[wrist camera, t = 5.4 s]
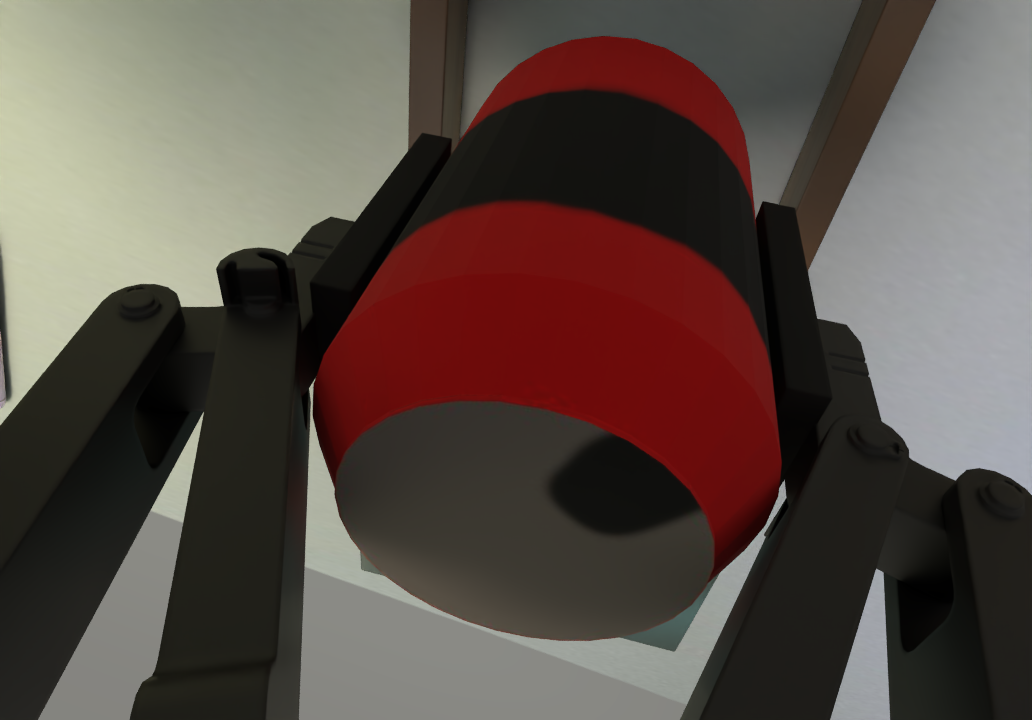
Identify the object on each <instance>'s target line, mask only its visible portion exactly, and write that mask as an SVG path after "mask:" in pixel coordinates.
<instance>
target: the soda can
mask: <svg viewBox="0 0 1032 720" xmlns="http://www.w3.org/2000/svg"><path fill="white" fill-rule="evenodd" d="M313 419H314V423H315V428H316V432H317V436H318V440H319V445H320V448H321V450H322V453H323V456H324V459H325V462H326V465H327V468H328V471H329V473H330V476H331V479H332V482H333V485H334V488H335V499H336V503H337V507H338V512H339V516H340V518H341V520H342V522H343V524H344V526H345V528H346V530H347V532H348V534H349V536H350V538H351V539H352V541H353V542H354V543H355V544H356V546H357V547H358V548H359V549H360V551H361V552H362V553H363V555H364V556H365V557H366V558H367V559H368V560H369V561H370V562H371V563H372V564H373V565H374V566H375V567H376V568H377V569H378V570H380V571H381V572H382V573H383V574H384V575H385V576H386V577H387V578H388V579H390V580H391V581H393V582H394V583H396V584H397V585H398V586H400V587H401V588H403V589H404V590H405V591H407V592H408V593H410V594H411V595H413V596H415V597H417V598H418V599H420V600H422V601H424V602H426V603H428V604H429V605H431V606H433V607H435V608H437V609H439V610H441V611H443V612H446V613H448V614H451V615H453V616H455V617H458V618H460V619H462V620H465V621H467V622H471V623H474V624H477V625H480V626H484V627H487V628H490V629H493V630H496V631H501V632H506V633H510V634H515V635H520V636H525V637H531V638H540V639H550V640H559V641H591V640H600V639H609V638H618V637H623V636H627V635H631V634H635V633H639V632H643V631H646V630H649V629H651V628H653V627H656V626H658V625H660V624H663V623H665V622H667V621H669V620H671V619H673V618H674V617H676V616H677V615H678V614H680V613H681V612H683V611H684V610H685V609H687V608H688V607H690V606H691V605H692V604H693V603H694V601H695V600H696V599H697V598H698V597H699V595H700V594H701V593H702V592H703V590H704V589H705V588H706V586H707V584H708V583H709V582H710V581H711V580H712V579H713V578H714V577H715V576H717V575H718V574H719V573H720V572H721V571H722V570H723V569H724V568H725V567H726V566H728V565H729V564H730V563H731V562H732V561H733V560H734V559H735V558H736V557H737V556H739V555H740V554H741V553H742V552H743V551H744V550H745V549H746V548H747V547H748V545H749V544H750V543H751V542H752V541H753V539H754V538H755V537H756V536H757V535H758V533H759V532H760V531H761V530H762V529H763V527H764V526H765V525H766V523H767V520H768V518H769V516H770V514H771V511H772V509H773V507H774V505H775V502H776V500H777V498H778V494H779V484H780V475H781V465H782V461H781V452H780V442H779V433H778V424H777V414H776V405H775V396H774V387H773V377H772V368H771V359H770V349H769V340H768V331H767V321H766V312H765V303H764V294H763V284H762V275H761V266H760V256H759V247H758V238H757V229H756V219H755V210H754V201H753V191H752V182H751V173H750V163H749V157H748V151H747V146H746V140H745V135H744V132H743V130H742V127H741V125H740V123H739V120H738V118H737V116H736V113H735V111H734V109H733V107H732V105H731V104H730V103H729V101H728V100H727V99H726V97H725V96H724V94H723V93H722V92H721V90H720V89H719V87H718V86H717V85H716V83H714V82H713V81H712V80H711V79H710V78H709V77H708V76H707V75H705V74H704V73H703V72H702V71H701V70H700V69H699V68H698V67H696V66H695V65H694V64H693V63H691V62H690V61H688V60H686V59H684V58H682V57H681V56H679V55H677V54H675V53H674V52H672V51H670V50H668V49H666V48H664V47H660V46H657V45H654V44H651V43H648V42H644V41H641V40H638V39H632V38H621V37H610V36H599V37H591V38H582V39H574V40H570V41H567V42H564V43H561V44H558V45H555V46H552V47H549V48H546V49H544V50H542V51H540V52H539V53H537V54H535V55H534V56H532V57H530V58H529V59H527V60H525V61H524V62H522V63H520V64H519V65H517V66H516V67H515V68H514V69H513V70H512V71H511V72H510V73H509V74H508V75H507V76H506V77H504V78H503V79H502V80H501V81H500V82H499V83H498V84H497V86H496V87H495V88H494V90H493V91H492V93H491V94H490V96H489V97H488V98H487V100H486V101H485V103H484V104H483V106H482V107H481V109H480V110H479V112H478V113H477V115H476V116H475V118H474V120H473V121H472V123H471V124H470V126H469V127H468V129H467V131H466V132H465V134H464V135H463V137H462V138H461V140H460V142H459V143H458V145H457V146H456V148H455V149H454V151H453V153H452V154H451V156H450V157H449V159H448V160H447V162H446V164H445V165H444V167H443V168H442V170H441V171H440V173H439V175H438V176H437V178H436V179H435V181H434V182H433V184H432V186H431V187H430V189H429V190H428V192H427V193H426V195H425V197H424V198H423V200H422V201H421V203H420V205H419V206H418V208H417V209H416V211H415V212H414V214H413V216H412V217H411V219H410V220H409V222H408V223H407V225H406V227H405V228H404V230H403V231H402V233H401V234H400V236H399V238H398V239H397V241H396V242H395V244H394V245H393V247H392V249H391V250H390V252H389V253H388V255H387V256H386V258H385V260H384V261H383V263H382V264H381V266H380V267H379V269H378V271H377V272H376V274H375V275H374V277H373V278H372V280H371V282H370V283H369V285H368V286H367V288H366V289H365V291H364V293H363V294H362V296H361V297H360V299H359V300H358V302H357V304H356V305H355V307H354V308H353V310H352V311H351V313H350V315H349V316H348V318H347V319H346V321H345V322H344V324H343V326H342V327H341V329H340V330H339V332H338V333H337V335H336V337H335V338H334V340H333V341H332V343H331V344H330V346H329V348H328V349H327V351H326V352H325V354H324V356H323V359H322V362H321V365H320V368H319V371H318V373H317V376H316V379H315V382H314V389H313Z"/></svg>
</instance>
